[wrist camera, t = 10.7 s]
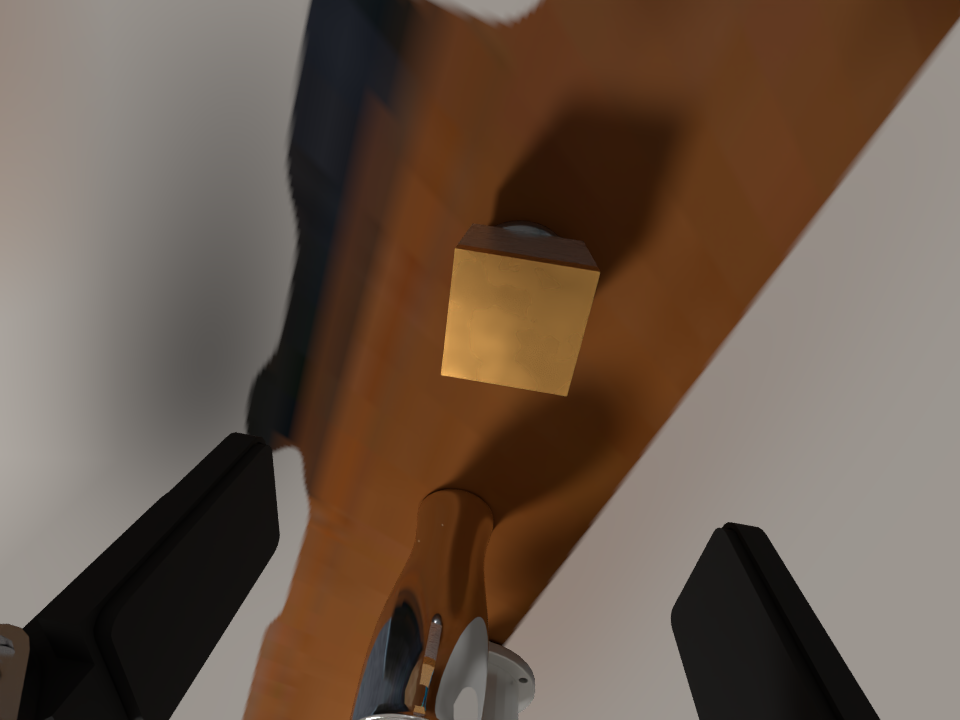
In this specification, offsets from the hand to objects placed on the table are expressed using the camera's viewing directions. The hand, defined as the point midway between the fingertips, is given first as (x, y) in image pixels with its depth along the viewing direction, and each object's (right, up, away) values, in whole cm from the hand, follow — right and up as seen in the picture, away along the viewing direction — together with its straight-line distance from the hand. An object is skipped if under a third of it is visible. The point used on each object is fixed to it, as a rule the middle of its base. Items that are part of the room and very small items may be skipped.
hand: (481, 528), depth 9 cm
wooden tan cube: (+2, +8, +15) cm, 17 cm away
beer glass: (-2, -9, +25) cm, 27 cm away
